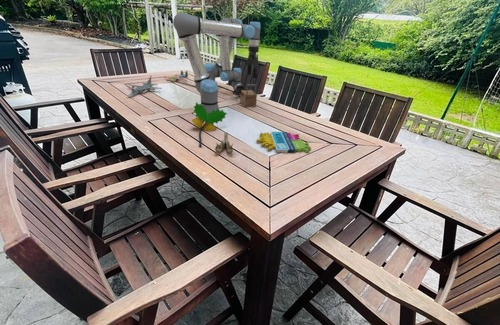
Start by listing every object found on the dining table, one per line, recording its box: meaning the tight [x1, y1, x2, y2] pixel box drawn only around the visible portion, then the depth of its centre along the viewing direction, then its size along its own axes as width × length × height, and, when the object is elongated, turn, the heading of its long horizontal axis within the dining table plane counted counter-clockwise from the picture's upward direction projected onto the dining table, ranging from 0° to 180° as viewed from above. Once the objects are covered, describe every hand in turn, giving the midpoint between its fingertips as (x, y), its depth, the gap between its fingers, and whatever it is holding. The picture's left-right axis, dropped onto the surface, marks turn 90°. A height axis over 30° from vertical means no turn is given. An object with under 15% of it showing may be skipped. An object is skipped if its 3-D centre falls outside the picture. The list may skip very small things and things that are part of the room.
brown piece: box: [241, 83, 258, 97], centre depth 208 cm, size 14×9×9 cm
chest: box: [239, 93, 258, 108], centre depth 212 cm, size 13×9×9 cm
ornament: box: [191, 102, 228, 132], centre depth 162 cm, size 21×8×15 cm, turn 105°
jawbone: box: [214, 131, 234, 156], centre depth 136 cm, size 9×15×10 cm
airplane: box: [127, 75, 162, 98], centre depth 225 cm, size 38×32×10 cm
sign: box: [256, 131, 312, 154], centre depth 152 cm, size 26×2×30 cm
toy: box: [163, 70, 189, 83], centre depth 276 cm, size 28×7×30 cm
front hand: (251, 76), depth 199 cm, fingers open, 13 cm apart
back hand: (247, 95), depth 216 cm, fingers open, 13 cm apart
